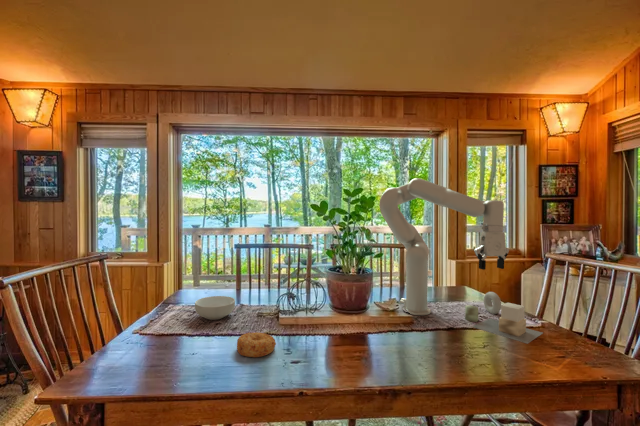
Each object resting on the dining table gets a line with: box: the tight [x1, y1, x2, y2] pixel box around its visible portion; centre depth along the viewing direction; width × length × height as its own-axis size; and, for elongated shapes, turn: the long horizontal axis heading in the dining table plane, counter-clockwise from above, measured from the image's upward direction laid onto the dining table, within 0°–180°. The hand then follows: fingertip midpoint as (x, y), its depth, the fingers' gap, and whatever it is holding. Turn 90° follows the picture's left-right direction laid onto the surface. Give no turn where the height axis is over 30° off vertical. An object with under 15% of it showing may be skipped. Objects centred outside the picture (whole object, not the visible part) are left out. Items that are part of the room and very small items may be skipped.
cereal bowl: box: [194, 295, 236, 321], centre depth 141 cm, size 17×17×7 cm
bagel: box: [236, 331, 277, 358], centre depth 109 cm, size 13×14×5 cm
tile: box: [471, 318, 544, 345], centre depth 127 cm, size 20×16×1 cm
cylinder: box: [464, 304, 479, 323], centre depth 138 cm, size 5×5×6 cm
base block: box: [498, 316, 527, 336], centre depth 125 cm, size 7×7×5 cm
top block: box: [500, 302, 525, 322], centre depth 125 cm, size 6×6×5 cm
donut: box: [483, 291, 502, 315], centre depth 148 cm, size 10×3×10 cm, turn 7°
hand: (491, 268), depth 139 cm, fingers open, 9 cm apart
